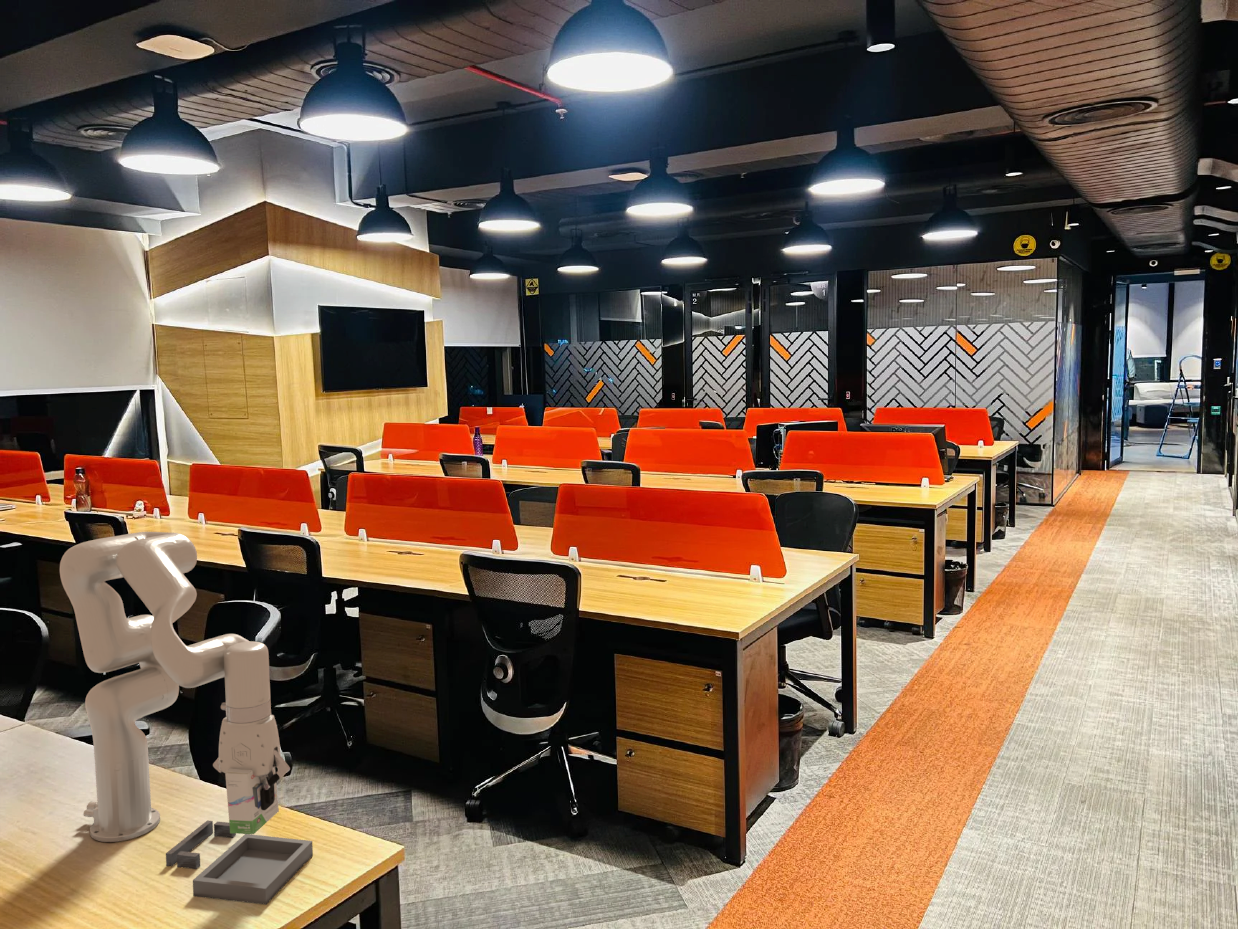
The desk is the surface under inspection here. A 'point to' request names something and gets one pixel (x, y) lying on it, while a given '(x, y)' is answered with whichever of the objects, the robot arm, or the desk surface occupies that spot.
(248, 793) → the ink box
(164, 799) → the desk surface
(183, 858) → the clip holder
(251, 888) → the tray
